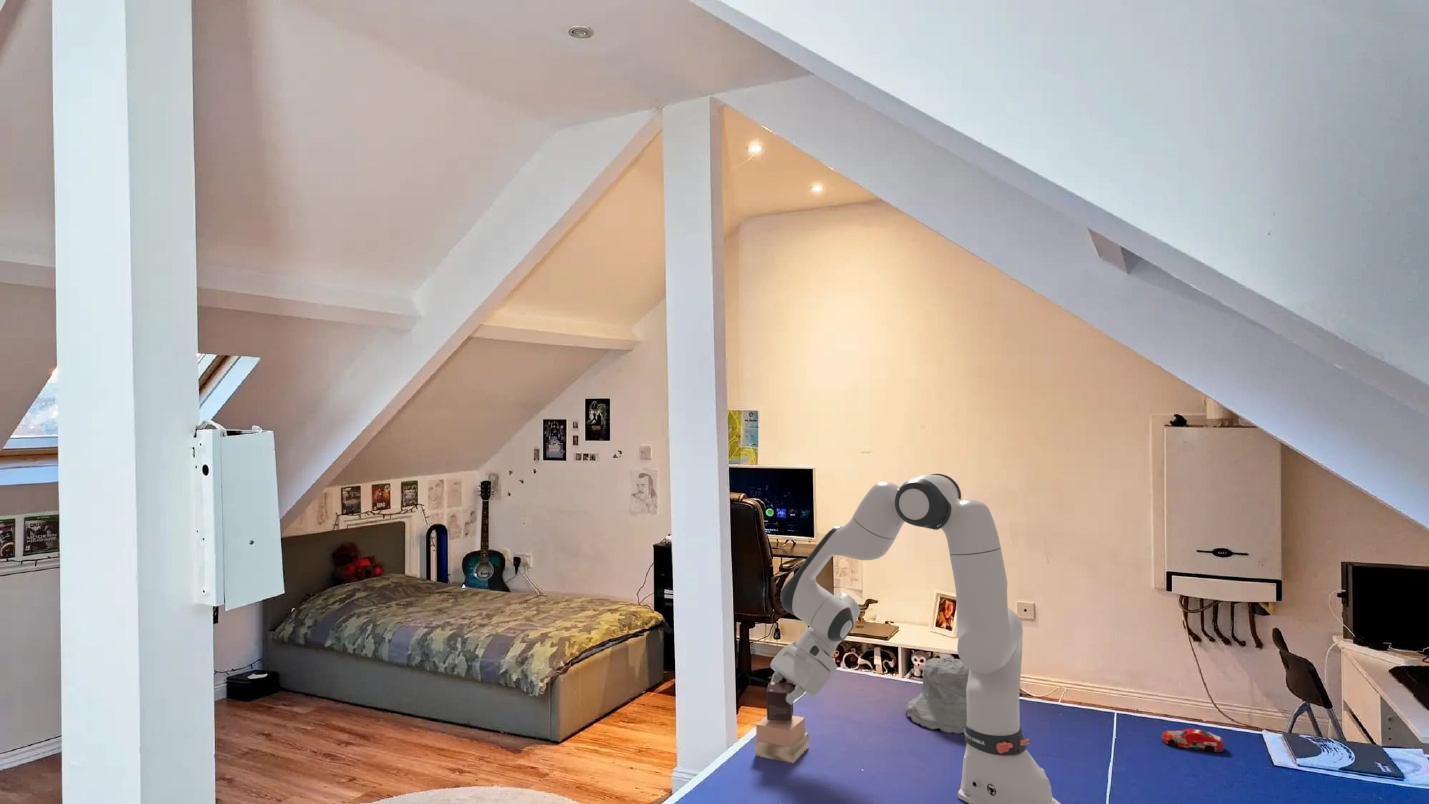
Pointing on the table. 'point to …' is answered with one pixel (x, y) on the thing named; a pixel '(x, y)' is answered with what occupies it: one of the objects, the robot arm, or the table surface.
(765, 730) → the tower top
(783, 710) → the box
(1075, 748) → the table surface
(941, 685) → the hat
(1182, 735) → the race car
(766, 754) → the tower base
